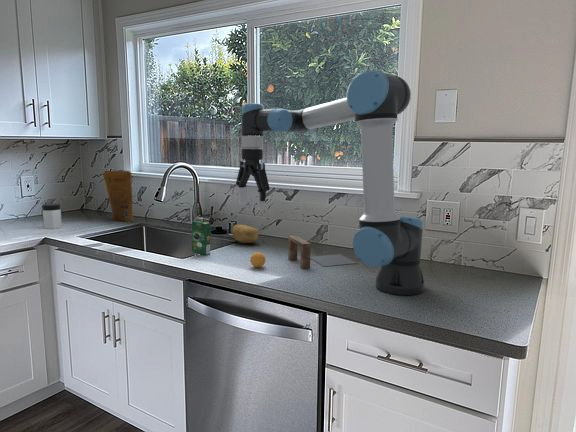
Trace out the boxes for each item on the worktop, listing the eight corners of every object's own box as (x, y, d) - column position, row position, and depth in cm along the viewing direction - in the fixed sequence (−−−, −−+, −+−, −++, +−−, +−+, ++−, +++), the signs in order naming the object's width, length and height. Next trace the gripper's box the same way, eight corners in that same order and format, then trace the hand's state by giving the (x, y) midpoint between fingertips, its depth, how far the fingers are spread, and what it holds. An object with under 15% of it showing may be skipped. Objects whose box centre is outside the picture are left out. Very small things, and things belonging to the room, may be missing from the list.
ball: (267, 268, 161) (267, 253, 160) (252, 269, 159) (252, 254, 158) (262, 264, 166) (262, 250, 165) (248, 265, 164) (248, 251, 163)
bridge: (295, 258, 175) (295, 235, 174) (310, 268, 162) (310, 243, 160) (288, 258, 174) (288, 235, 172) (302, 269, 161) (302, 244, 159)
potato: (248, 247, 192) (248, 229, 191) (227, 242, 201) (226, 224, 200) (264, 243, 199) (264, 226, 198) (242, 238, 208) (242, 222, 207)
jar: (55, 225, 235) (53, 202, 233) (65, 226, 231) (64, 203, 229) (39, 228, 227) (37, 204, 225) (49, 229, 223) (47, 206, 221)
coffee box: (211, 254, 180) (210, 222, 178) (206, 255, 177) (205, 223, 175) (196, 251, 184) (196, 220, 182) (191, 252, 182) (191, 221, 179)
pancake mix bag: (129, 222, 244) (126, 171, 240) (104, 219, 253) (101, 170, 248) (138, 220, 250) (136, 170, 246) (113, 217, 259) (111, 169, 254)
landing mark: (357, 263, 169) (357, 263, 169) (323, 266, 164) (323, 266, 164) (340, 254, 182) (340, 254, 182) (308, 257, 177) (308, 256, 177)
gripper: (280, 149, 150) (279, 211, 154) (244, 147, 170) (244, 202, 174) (261, 149, 146) (260, 213, 150) (227, 147, 166) (227, 203, 170)
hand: (251, 207), depth 162 cm, fingers open, 13 cm apart
